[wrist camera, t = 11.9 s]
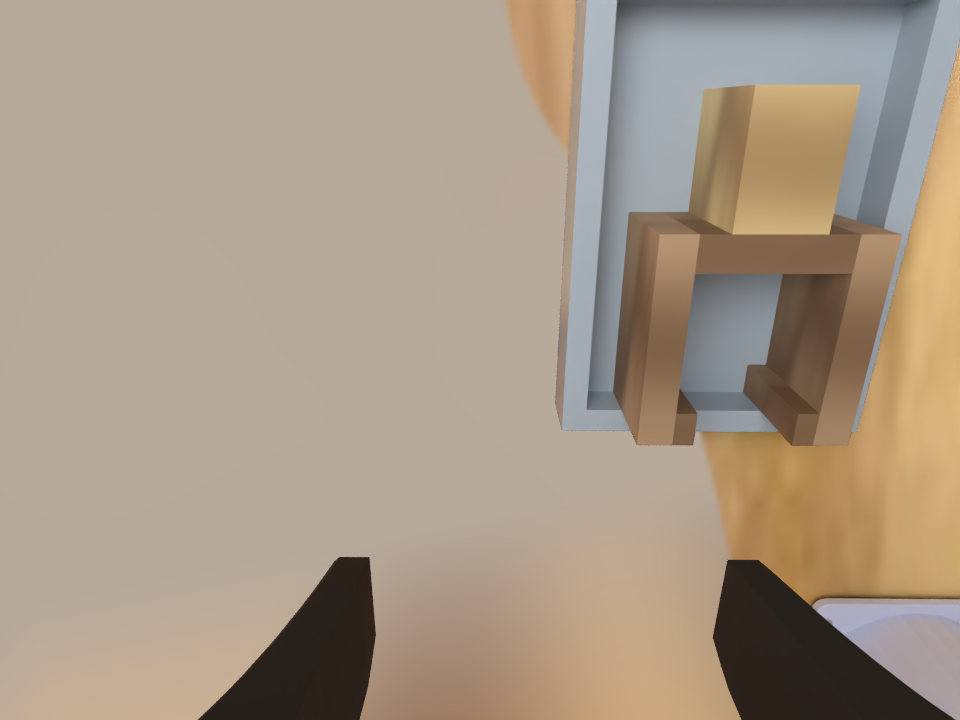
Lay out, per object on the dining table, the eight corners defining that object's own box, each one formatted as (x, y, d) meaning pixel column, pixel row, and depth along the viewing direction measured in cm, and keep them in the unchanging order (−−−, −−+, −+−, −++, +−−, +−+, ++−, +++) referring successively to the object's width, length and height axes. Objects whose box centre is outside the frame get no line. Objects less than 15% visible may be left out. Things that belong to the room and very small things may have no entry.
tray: (825, 404, 22) (856, 432, 20) (555, 403, 22) (561, 430, 20) (926, -24, 17) (981, -40, 15) (577, -24, 17) (589, -41, 15)
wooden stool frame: (790, 391, 21) (847, 445, 18) (613, 391, 21) (636, 445, 18) (853, 88, 17) (940, 84, 14) (639, 89, 17) (676, 84, 14)
